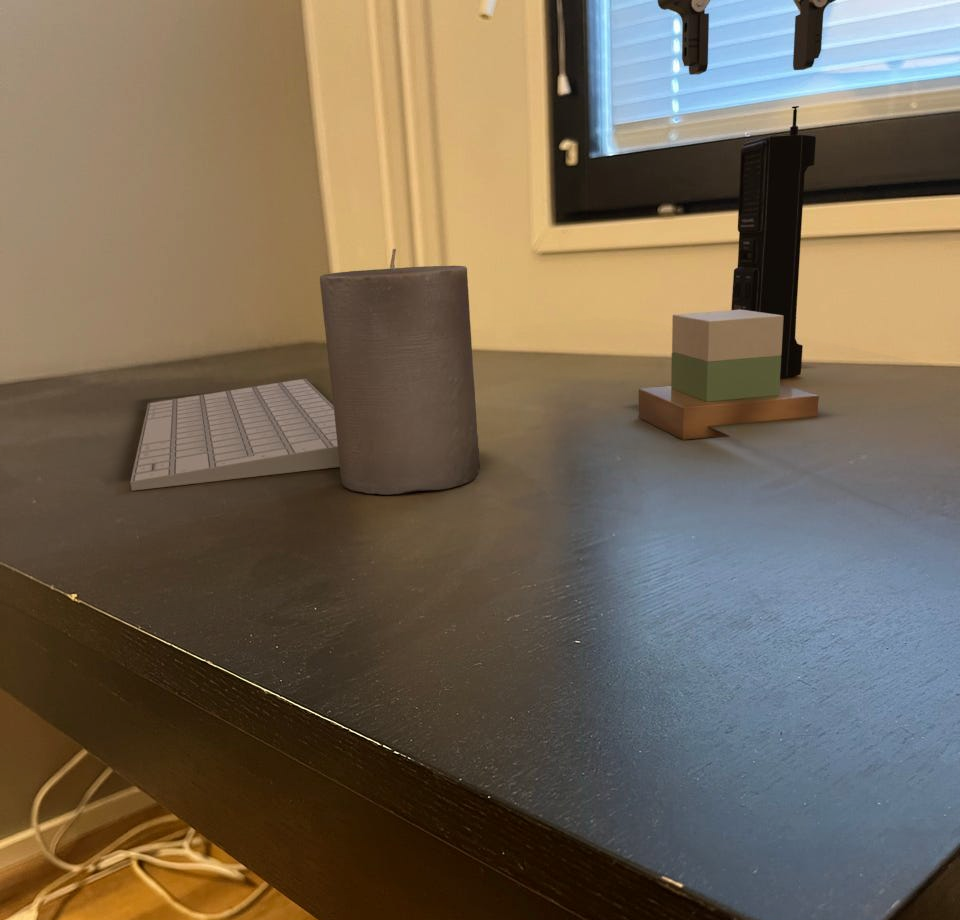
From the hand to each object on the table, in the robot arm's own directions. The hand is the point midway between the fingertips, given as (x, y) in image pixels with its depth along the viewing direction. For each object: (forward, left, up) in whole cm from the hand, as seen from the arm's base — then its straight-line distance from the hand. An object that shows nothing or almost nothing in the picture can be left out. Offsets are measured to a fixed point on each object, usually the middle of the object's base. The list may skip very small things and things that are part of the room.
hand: (751, 70), depth 76 cm
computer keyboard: (+43, -13, -26) cm, 52 cm away
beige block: (+3, +4, -21) cm, 21 cm away
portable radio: (-11, -20, -26) cm, 35 cm away
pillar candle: (+30, +14, -26) cm, 42 cm away
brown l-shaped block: (+3, +4, -26) cm, 26 cm away
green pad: (+3, +4, -24) cm, 24 cm away
